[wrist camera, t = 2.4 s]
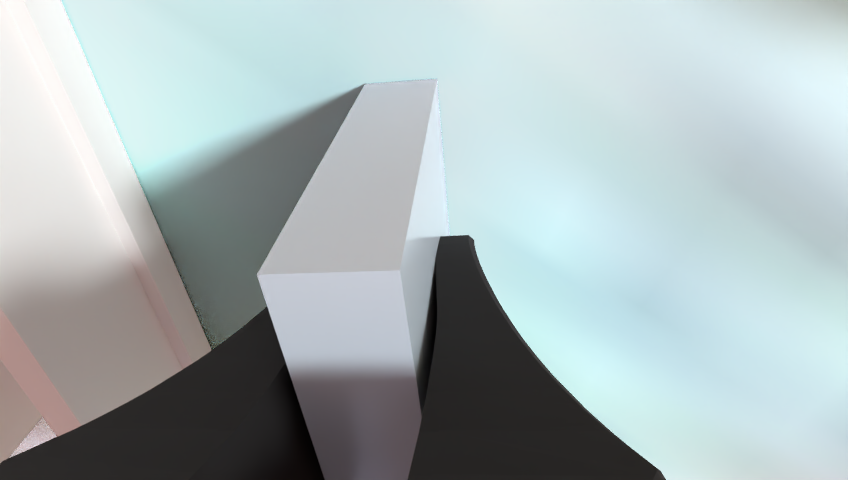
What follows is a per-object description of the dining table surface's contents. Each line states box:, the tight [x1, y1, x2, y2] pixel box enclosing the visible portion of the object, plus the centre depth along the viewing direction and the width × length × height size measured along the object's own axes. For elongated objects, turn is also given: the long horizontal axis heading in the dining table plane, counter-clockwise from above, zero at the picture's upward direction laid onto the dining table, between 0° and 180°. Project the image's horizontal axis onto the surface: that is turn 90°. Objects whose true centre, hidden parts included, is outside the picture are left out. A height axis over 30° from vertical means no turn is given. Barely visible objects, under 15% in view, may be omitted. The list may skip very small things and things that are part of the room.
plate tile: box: [257, 79, 450, 480], centre depth 11 cm, size 7×2×7 cm, turn 5°
